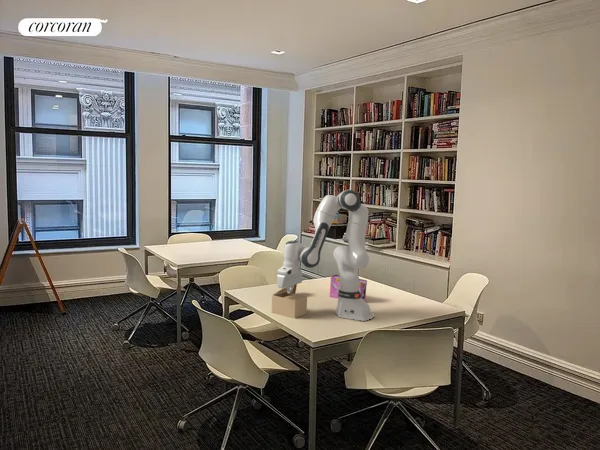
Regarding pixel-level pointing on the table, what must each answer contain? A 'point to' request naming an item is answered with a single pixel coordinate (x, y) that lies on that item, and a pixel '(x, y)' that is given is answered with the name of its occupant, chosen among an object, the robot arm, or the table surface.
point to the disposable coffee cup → (293, 289)
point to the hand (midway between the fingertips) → (289, 293)
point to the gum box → (336, 284)
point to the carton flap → (280, 291)
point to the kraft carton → (289, 304)
